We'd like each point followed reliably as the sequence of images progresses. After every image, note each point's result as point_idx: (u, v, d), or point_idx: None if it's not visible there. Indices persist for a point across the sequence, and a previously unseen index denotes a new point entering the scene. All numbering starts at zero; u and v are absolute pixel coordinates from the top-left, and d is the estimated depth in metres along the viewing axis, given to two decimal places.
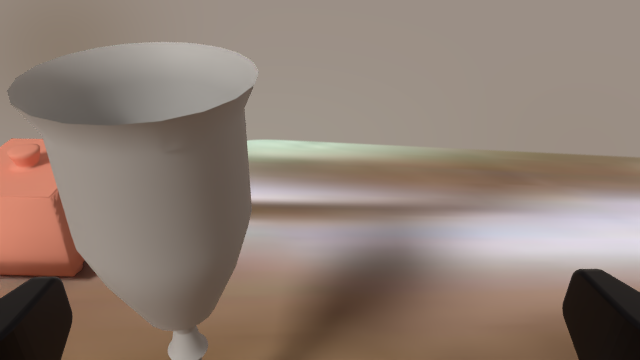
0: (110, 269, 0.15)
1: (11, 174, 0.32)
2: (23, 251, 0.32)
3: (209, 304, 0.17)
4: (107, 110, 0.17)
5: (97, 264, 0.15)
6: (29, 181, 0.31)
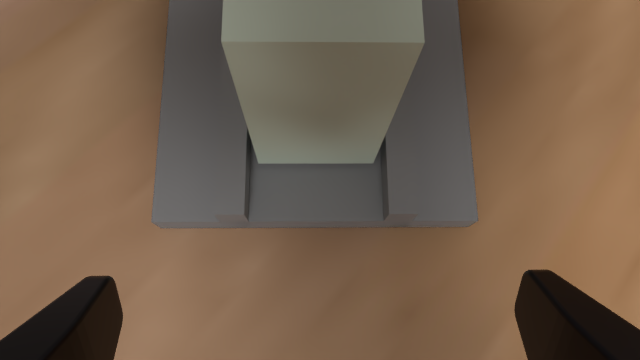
0: None
1: None
2: None
3: None
4: None
5: None
6: None
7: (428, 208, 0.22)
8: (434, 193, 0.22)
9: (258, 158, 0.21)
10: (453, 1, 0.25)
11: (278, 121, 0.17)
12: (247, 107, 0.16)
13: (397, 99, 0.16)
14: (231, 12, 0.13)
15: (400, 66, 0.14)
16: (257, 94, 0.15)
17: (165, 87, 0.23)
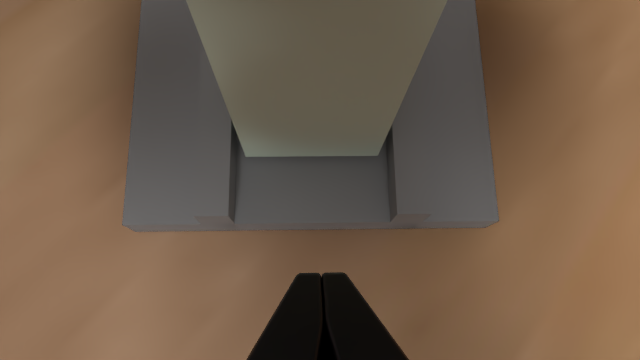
0: None
1: None
2: None
3: None
4: None
5: None
6: None
7: (441, 207, 0.19)
8: (448, 189, 0.19)
9: (245, 150, 0.18)
10: None
11: (266, 105, 0.14)
12: (227, 86, 0.13)
13: (410, 75, 0.13)
14: None
15: (416, 29, 0.11)
16: (237, 70, 0.12)
17: (139, 70, 0.20)
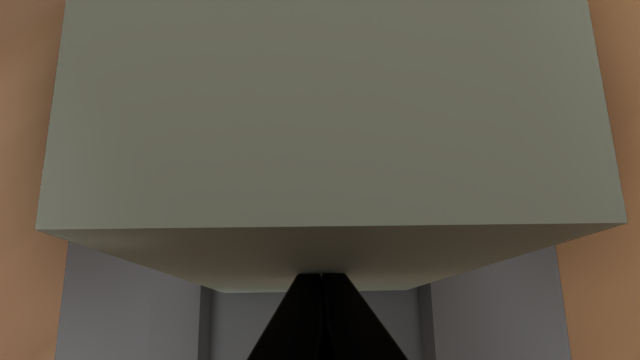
0: None
1: None
2: None
3: None
4: None
5: None
6: None
7: None
8: None
9: (222, 291, 0.13)
10: None
11: (245, 277, 0.09)
12: (178, 272, 0.08)
13: (484, 264, 0.08)
14: (73, 137, 0.04)
15: (526, 243, 0.05)
16: (189, 266, 0.07)
17: None
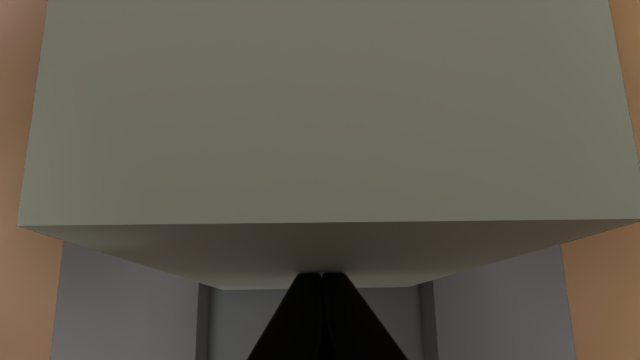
0: None
1: None
2: None
3: None
4: None
5: None
6: None
7: None
8: None
9: (220, 288, 0.13)
10: None
11: (244, 275, 0.09)
12: (173, 269, 0.08)
13: (491, 261, 0.07)
14: (57, 127, 0.04)
15: (538, 241, 0.05)
16: (185, 264, 0.07)
17: (58, 332, 0.13)
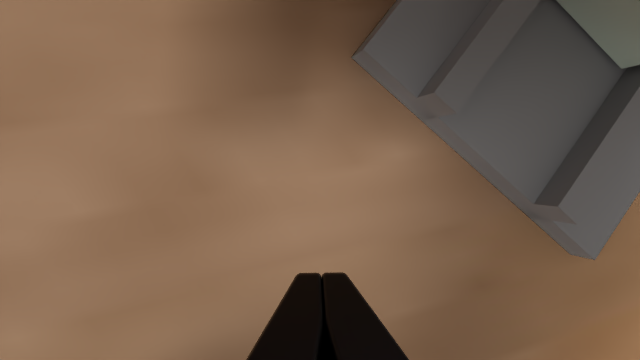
0: None
1: None
2: None
3: None
4: None
5: None
6: None
7: None
8: None
9: None
10: None
11: None
12: None
13: None
14: None
15: None
16: None
17: None
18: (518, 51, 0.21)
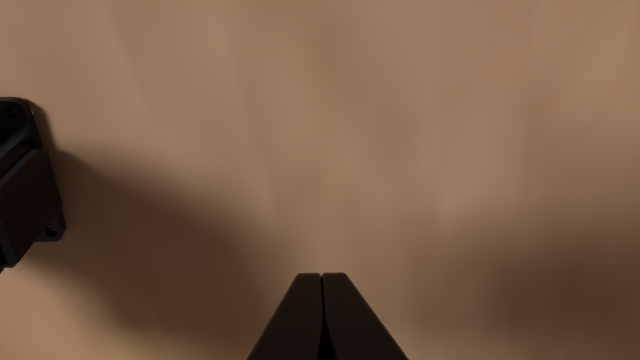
0: None
1: None
2: None
3: None
4: None
5: None
6: None
7: None
8: None
9: None
10: None
11: None
12: None
13: None
14: None
15: None
16: None
17: None
18: None
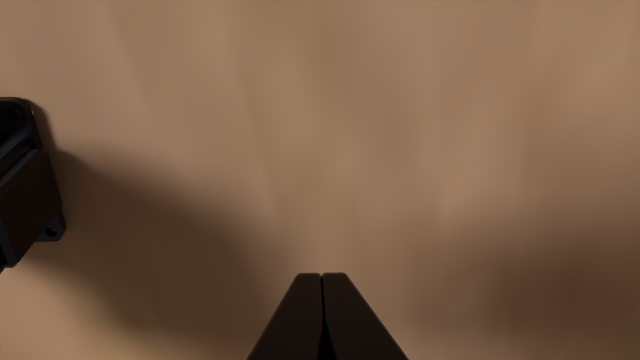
0: None
1: None
2: None
3: None
4: None
5: None
6: None
7: None
8: None
9: None
10: None
11: None
12: None
13: None
14: None
15: None
16: None
17: None
18: None
